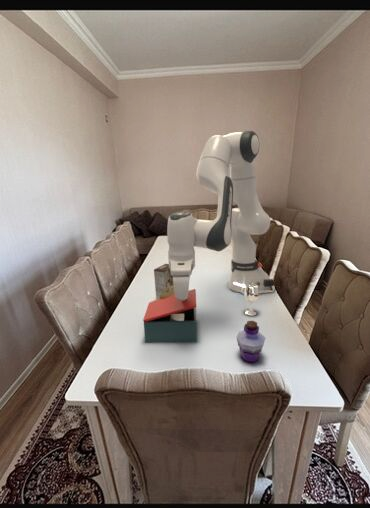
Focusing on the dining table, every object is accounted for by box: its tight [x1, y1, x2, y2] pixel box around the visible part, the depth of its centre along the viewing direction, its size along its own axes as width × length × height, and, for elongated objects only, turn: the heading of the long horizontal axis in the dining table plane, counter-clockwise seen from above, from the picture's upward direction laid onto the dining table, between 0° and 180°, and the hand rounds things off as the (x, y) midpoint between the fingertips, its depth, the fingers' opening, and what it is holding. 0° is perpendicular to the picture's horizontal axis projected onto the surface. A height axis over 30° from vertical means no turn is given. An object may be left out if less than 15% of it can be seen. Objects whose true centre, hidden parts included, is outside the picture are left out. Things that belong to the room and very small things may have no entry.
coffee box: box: [153, 263, 175, 301], centre depth 113 cm, size 9×6×16 cm
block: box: [170, 314, 185, 321], centre depth 90 cm, size 5×5×5 cm
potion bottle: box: [236, 320, 267, 364], centre depth 75 cm, size 9×9×12 cm
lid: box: [142, 288, 197, 323], centre depth 88 cm, size 18×13×1 cm
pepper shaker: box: [160, 292, 173, 321], centre depth 97 cm, size 6×6×11 cm
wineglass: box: [243, 283, 260, 317], centre depth 100 cm, size 6×6×12 cm
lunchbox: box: [143, 306, 198, 343], centre depth 90 cm, size 18×13×8 cm
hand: (183, 299), depth 87 cm, fingers closed
